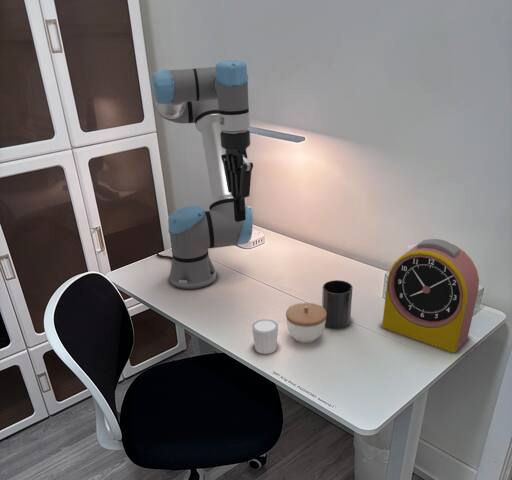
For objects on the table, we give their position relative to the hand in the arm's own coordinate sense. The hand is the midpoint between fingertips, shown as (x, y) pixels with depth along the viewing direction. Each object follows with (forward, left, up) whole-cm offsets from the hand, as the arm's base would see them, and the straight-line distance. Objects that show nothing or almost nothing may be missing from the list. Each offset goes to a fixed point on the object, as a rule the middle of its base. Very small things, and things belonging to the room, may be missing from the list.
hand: (240, 220), depth 145 cm
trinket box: (+26, +4, -27) cm, 37 cm away
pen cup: (+24, +16, -26) cm, 39 cm away
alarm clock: (+42, +32, -27) cm, 59 cm away
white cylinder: (+24, -8, -27) cm, 37 cm away
